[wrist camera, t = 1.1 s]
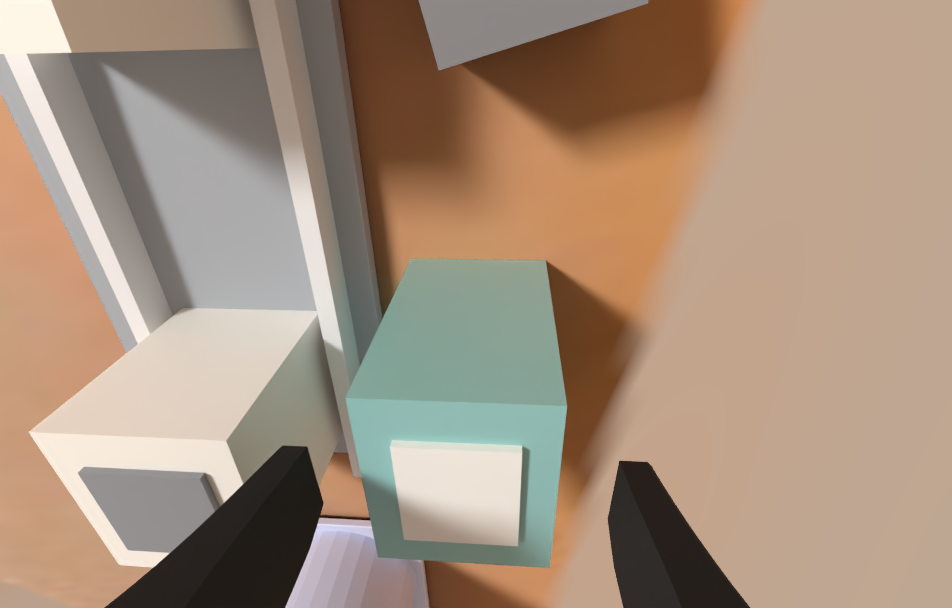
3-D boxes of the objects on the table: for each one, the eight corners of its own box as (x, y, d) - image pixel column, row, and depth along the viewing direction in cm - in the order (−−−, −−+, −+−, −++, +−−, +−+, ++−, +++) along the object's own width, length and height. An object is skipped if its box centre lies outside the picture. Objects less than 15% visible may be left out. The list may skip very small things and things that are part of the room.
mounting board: (399, 444, 20) (351, 614, 14) (179, 435, 21) (45, 593, 15) (287, -367, 9) (-153, -1161, 3) (-174, -328, 10) (-1255, -908, 4)
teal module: (537, 389, 18) (550, 575, 12) (423, 385, 18) (376, 564, 12) (545, 260, 15) (568, 413, 9) (411, 258, 15) (342, 404, 9)
